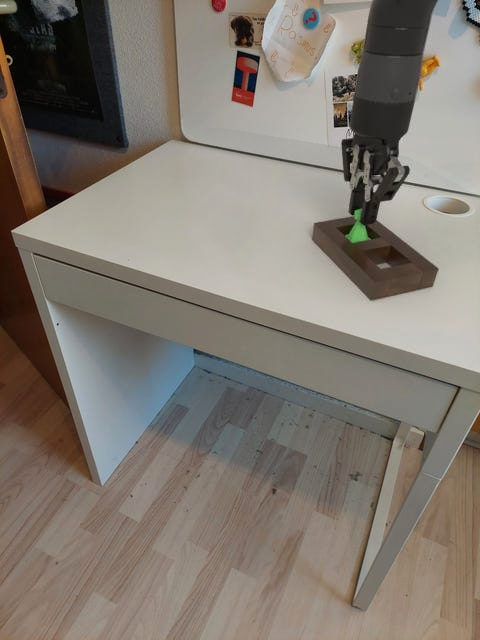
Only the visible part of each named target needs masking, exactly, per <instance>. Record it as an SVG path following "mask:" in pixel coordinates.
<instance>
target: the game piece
mask: <svg viewBox="0 0 480 640" xmlns="http://www.w3.org/2000/svg"><path fill="white" fill-rule="evenodd" d="M361 212H362V208H361V209H358V210H356V211H355V215H354V216H355V219H356V220H357V222H356V223H355V225H354V226H353V228H352V230H351V231H350V233H349V234H347V235H345V237H346V238H348V239H349V240H350V241H351V242H352V243H354V242H360V241H365V240H370V238H369V237H368V236H367V231H366V227H365V225H363V224H361V223H360V218H361Z"/></svg>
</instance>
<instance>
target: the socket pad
mask: <svg viewBox="0 0 480 640" xmlns="http://www.w3.org/2000/svg"><path fill="white" fill-rule="evenodd" d="M356 222H357V220H356V219H355V215H354V216H352V215H351V216H346V217H341V218H340V217H339V218H335V219H329V220H323V221H316V222H314V223H313V228H312V236H311V240H312V241H313V242H314V244H315V245H316V246H318V247H319V249H320V250H321V251H322V252H323V253H324V254H325V255H326V256H327V257H328V258H329V259H330V260H331V261H332V262H333V263H334V264H335V265H336V266H337V267H338V268H339V269H340V270H341V271H342V272H343V273H344V275H346V276H347V277H348V278H349V280H351V282H352V283H353V284H354V285H355V286H356V287H357V288H358V289H359V290H360V291H361V292H362V293H363V294H364V295H365V296H366V298H368V299H369V301H370V302H371V301H376V300H381V299H384V298H390V297H393V296H397V295H402V294H406V293H411V292H416V291H420V290H424V289H428V288H433V287H434V284H435V281H436V278H437V275H438V272H439V267H438V266H436V265H435V264H434V263H432V262H431V261H430V260H428V259H427V258H426V257H425V256H424V255H422V254H421V253H419V252H418V251H417V250H416V249H415V248H414V247H412V246H411V245H410V244H408V242H406V241H404V240H403V239H402V238H401V237H399V236H398V235H396V234H395V232H393V231H392V230H390V229H389V228H388V227H386V226H385V225H384V224H383V223H381V222H380V221H379V220H377V219H376V221H375V222H374V223H373V224H369V225H365V227H366V231H367V236H368V237H369V238H370V240H365V241H360V242H354V243H352V242H351V241H350V240H349V239H348V238H346V237H345V235H347V234H349V233H350V231H351V230H352V228H353V226H354V225H355V223H356ZM381 264H388V265H389V266H390V267H383V268H380V267H379V266H378V265H381Z"/></svg>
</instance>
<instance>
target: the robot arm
mask: <svg viewBox="0 0 480 640" xmlns="http://www.w3.org/2000/svg"><path fill="white" fill-rule="evenodd" d="M438 2H439V0H371V3H370V8H369V11H368V16H367V21H366V22H367V23H366V28H365V34H364V40H363V41H364V42H363V49H362V54H361V56H360V57H361V58H360V61H359V65H358V67H357V72H356V73H357V75H356V81H355V88H354V92H353V100H352V107H351V112H350V113H351V114H350V119H349V129H350V131H351V132H352V133H353V134H354V135H353V136H352V137H348V138H342V140H341V143H340V145H341V157H342V170H343V171H342V172H343V180H344V182H347V183H349V190H350V191H351V192H350V198H349V203H348V206H349V207H348V214H349V215H351V217H352V216H355V211H356V210H358V209H361V208H362V212H361V218H360V223H361V224H363V225H369V224H373V223H374V222H375V221H376V220H377V219H378V215H379V210H380V206H381V203H384V202H389V201H392V200H393V199H394V197H395V196H396V194H397V193H398V192H399V190H400V189H401V187H402V185H403V184H404V182H405V180H406V179H407V178H408V176H409V175H410V172H411V168H410V166H409V165H402V164H401V162H400V160H399V156H400V147H399V146H400V145H399V144H400V140H401V139H402V138H403V137H404V136H405V135H406V134H407V133H408V132H409V128H410V126H411V125H410V124H411V120H412V116H413V111H414V107H415V103H416V98H417V94H418V90H419V86H420V82H421V76H422V69H423V59H424V54H425V50H426V45H427V40H428V35H429V32H430V27H431V23H432V19H433V14H434V11H435V8H436V7H437V4H438ZM375 186H377V187H376V190H375V191H374V187H375Z"/></svg>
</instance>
